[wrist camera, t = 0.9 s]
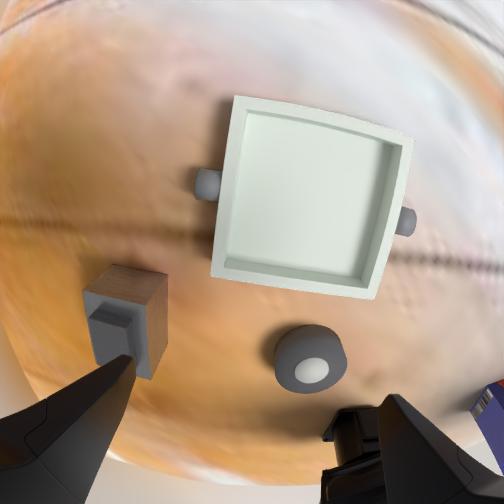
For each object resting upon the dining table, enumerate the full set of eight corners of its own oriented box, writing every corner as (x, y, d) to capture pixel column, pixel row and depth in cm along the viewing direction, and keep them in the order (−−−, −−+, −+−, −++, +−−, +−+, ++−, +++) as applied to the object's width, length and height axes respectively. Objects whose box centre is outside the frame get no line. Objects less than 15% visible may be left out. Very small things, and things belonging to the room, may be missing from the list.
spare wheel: (329, 377, 25) (334, 396, 22) (268, 372, 24) (268, 392, 22) (350, 328, 23) (357, 346, 20) (282, 320, 22) (283, 339, 20)
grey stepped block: (168, 342, 24) (146, 390, 18) (119, 330, 24) (90, 372, 18) (168, 274, 22) (138, 315, 16) (113, 263, 22) (73, 297, 16)
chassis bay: (380, 287, 21) (391, 302, 19) (195, 259, 21) (186, 272, 19) (415, 144, 17) (433, 145, 15) (215, 100, 17) (208, 92, 15)
